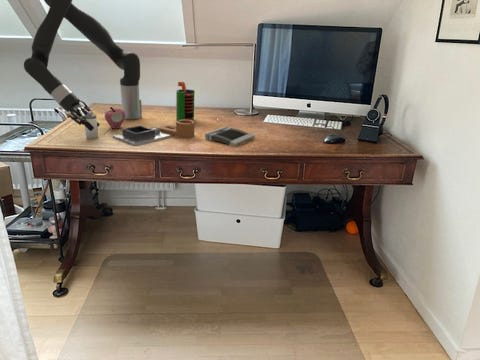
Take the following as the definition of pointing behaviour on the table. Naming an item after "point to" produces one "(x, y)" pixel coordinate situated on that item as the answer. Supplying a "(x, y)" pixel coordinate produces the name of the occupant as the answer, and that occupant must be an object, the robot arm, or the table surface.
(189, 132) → the bracket
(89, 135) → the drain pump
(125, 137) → the mount plate
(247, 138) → the grey square tray
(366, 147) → the table surface
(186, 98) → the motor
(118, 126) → the apple
